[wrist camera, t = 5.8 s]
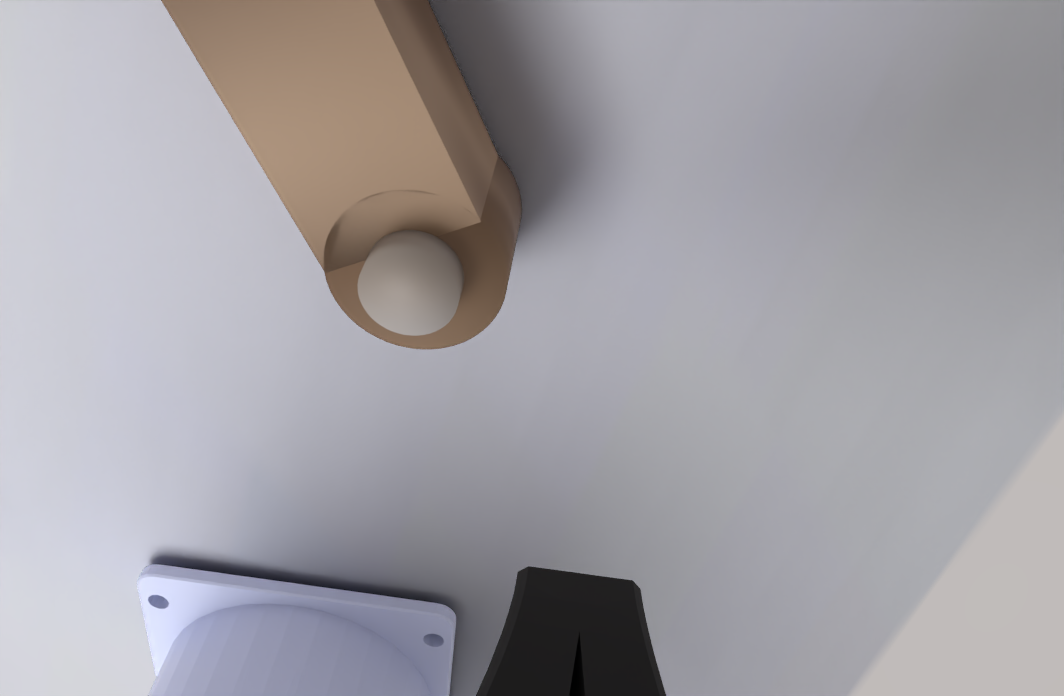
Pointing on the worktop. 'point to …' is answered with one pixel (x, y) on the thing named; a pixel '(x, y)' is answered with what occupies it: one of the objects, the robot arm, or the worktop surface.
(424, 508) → the worktop surface
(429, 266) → the link
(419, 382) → the worktop surface
